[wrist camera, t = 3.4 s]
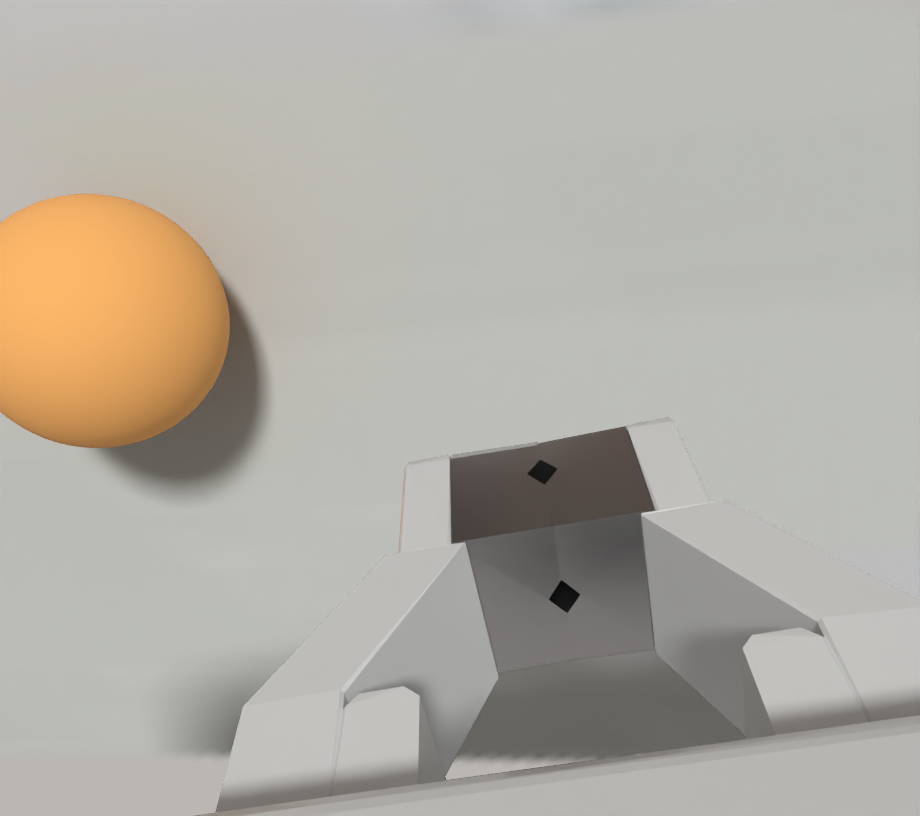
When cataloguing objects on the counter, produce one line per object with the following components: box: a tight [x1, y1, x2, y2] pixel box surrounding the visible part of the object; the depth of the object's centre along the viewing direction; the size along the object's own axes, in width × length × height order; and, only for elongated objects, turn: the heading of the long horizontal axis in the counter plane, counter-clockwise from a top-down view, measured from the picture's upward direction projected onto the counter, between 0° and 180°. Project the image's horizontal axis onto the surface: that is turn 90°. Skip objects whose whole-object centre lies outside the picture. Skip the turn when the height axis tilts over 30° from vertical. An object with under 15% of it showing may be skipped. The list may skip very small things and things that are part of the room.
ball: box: [0, 194, 230, 448], centre depth 18 cm, size 6×6×6 cm
